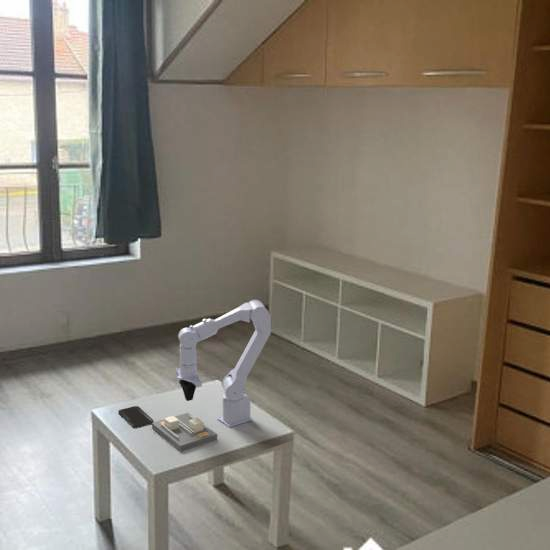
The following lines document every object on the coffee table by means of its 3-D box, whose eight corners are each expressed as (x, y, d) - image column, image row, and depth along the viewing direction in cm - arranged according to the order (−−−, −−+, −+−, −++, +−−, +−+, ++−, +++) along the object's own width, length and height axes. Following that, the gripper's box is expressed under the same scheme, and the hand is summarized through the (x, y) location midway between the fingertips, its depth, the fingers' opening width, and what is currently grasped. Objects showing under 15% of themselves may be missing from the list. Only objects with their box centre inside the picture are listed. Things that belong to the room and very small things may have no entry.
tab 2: (197, 425, 247) (197, 417, 246) (203, 430, 244) (203, 422, 243) (188, 428, 245) (188, 420, 244) (194, 432, 242) (194, 424, 241)
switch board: (187, 417, 258) (187, 410, 257) (217, 439, 242) (217, 431, 241) (152, 428, 250) (151, 420, 249) (180, 451, 234) (180, 443, 233)
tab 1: (173, 423, 248) (173, 415, 248) (179, 428, 245) (179, 419, 245) (164, 426, 246) (164, 418, 246) (170, 430, 243) (169, 422, 243)
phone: (137, 405, 266) (154, 420, 253) (137, 408, 266) (154, 423, 254) (117, 410, 261) (133, 426, 249) (117, 413, 262) (133, 429, 250)
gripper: (167, 358, 250) (168, 395, 254) (188, 372, 239) (189, 410, 242) (185, 354, 254) (186, 390, 258) (206, 367, 243) (207, 404, 246)
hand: (189, 399), depth 250 cm, fingers closed
